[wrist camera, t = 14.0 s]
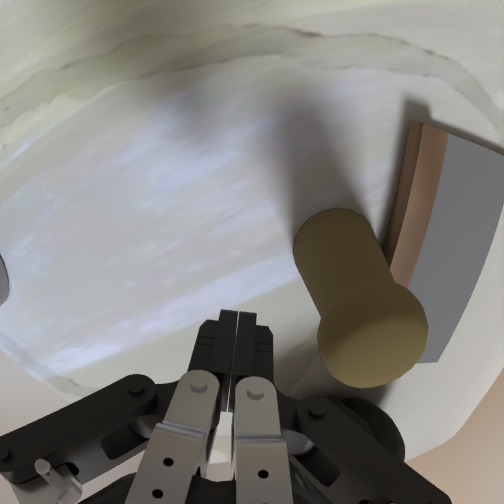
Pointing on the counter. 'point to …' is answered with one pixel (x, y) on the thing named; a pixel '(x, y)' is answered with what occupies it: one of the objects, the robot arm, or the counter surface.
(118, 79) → the counter surface
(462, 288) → the slate mat
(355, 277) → the olive pawn-shaped piece
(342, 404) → the squash
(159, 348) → the counter surface
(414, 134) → the walnut rail
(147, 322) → the counter surface
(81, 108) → the counter surface
